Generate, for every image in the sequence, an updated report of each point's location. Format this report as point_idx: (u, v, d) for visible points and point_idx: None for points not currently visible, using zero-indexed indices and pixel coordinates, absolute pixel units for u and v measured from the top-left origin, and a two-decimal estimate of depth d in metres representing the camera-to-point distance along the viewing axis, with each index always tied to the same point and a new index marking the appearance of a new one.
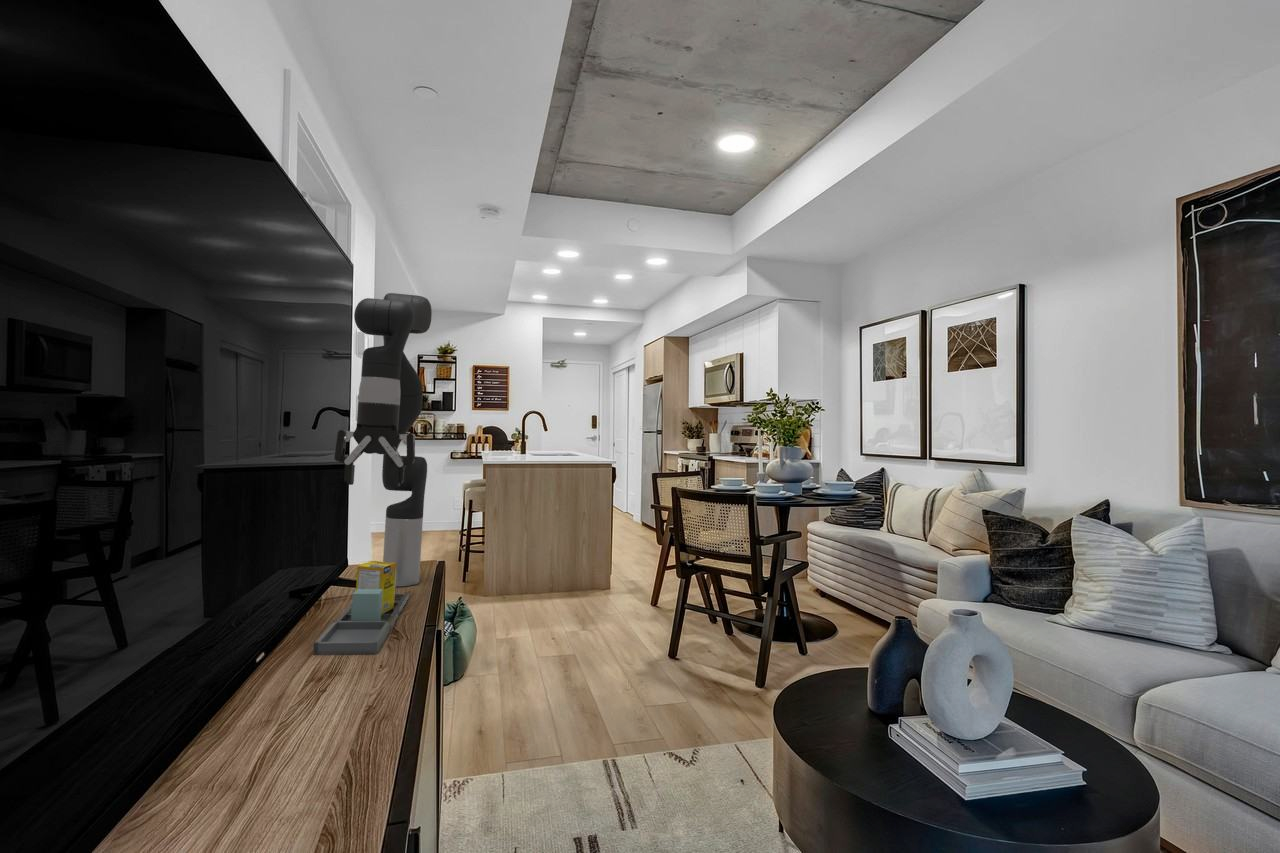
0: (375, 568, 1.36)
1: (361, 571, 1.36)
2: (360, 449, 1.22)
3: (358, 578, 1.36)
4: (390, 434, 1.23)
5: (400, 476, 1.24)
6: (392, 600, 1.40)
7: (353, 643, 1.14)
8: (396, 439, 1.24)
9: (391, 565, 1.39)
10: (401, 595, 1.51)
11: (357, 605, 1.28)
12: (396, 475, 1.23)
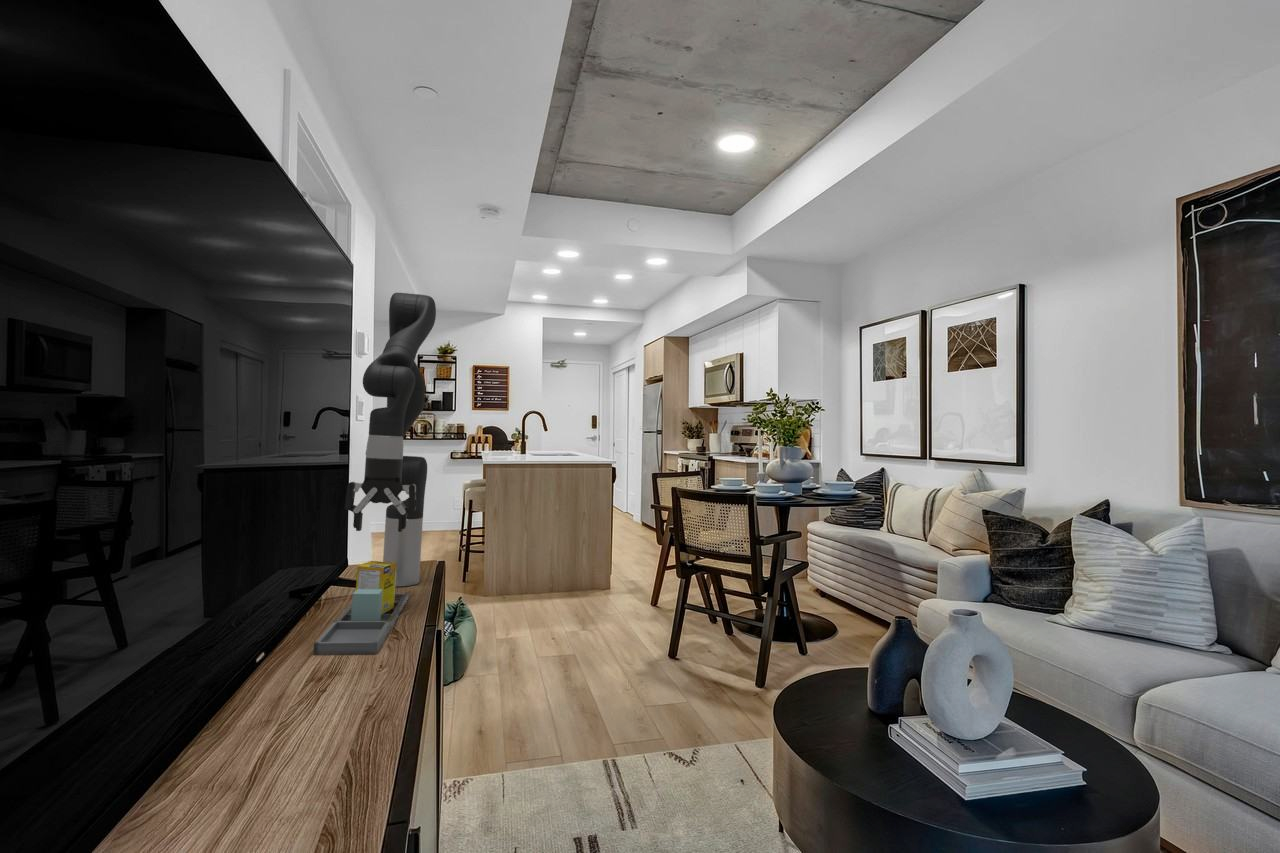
0: (375, 568, 1.36)
1: (361, 571, 1.36)
2: (367, 499, 1.37)
3: (358, 578, 1.36)
4: (394, 485, 1.38)
5: (403, 522, 1.39)
6: (392, 600, 1.40)
7: (353, 643, 1.14)
8: (399, 490, 1.39)
9: (391, 565, 1.39)
10: (401, 595, 1.51)
11: (357, 605, 1.28)
12: (399, 522, 1.39)
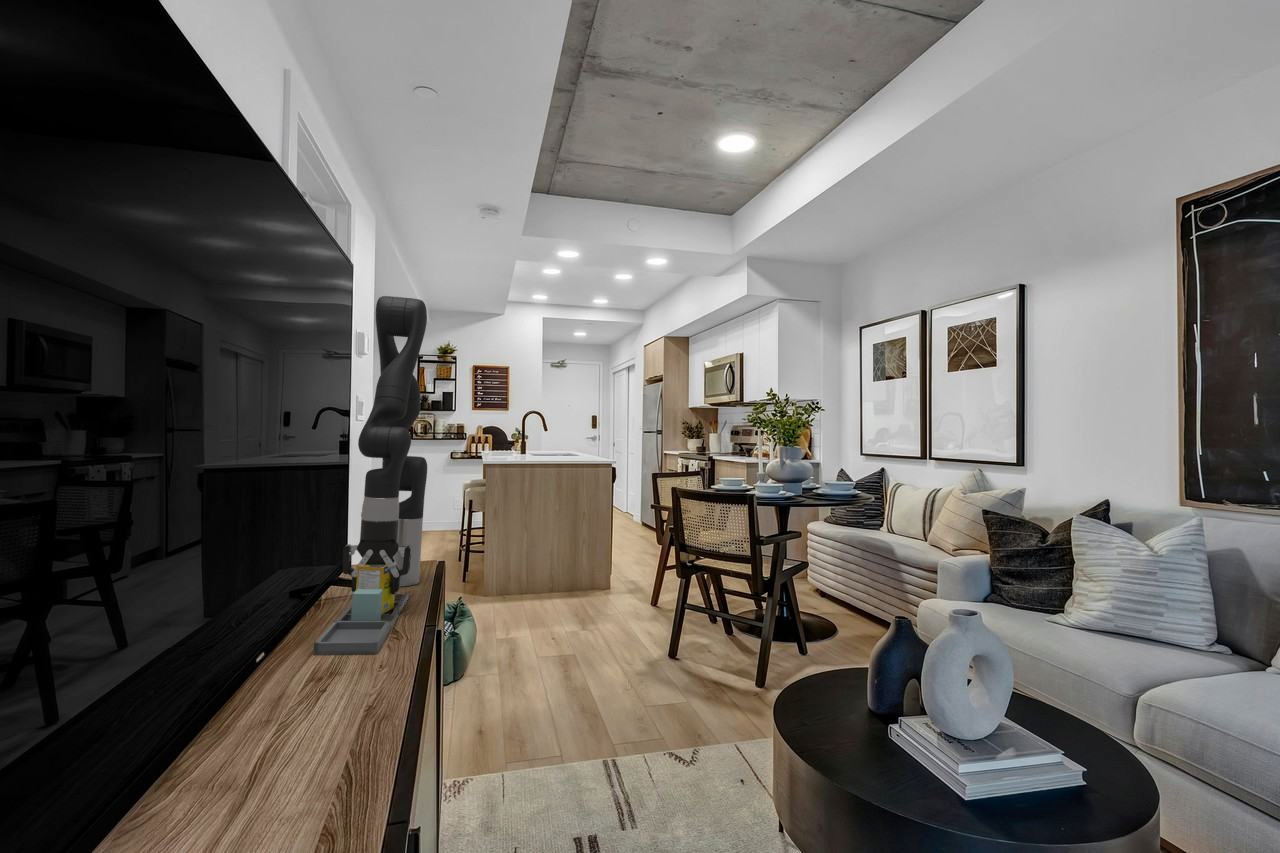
0: (375, 568, 1.36)
1: (361, 571, 1.36)
2: (364, 562, 1.36)
3: (358, 578, 1.36)
4: (390, 546, 1.38)
5: (396, 585, 1.39)
6: (392, 600, 1.40)
7: (353, 643, 1.14)
8: (395, 551, 1.38)
9: None
10: (401, 595, 1.51)
11: (357, 605, 1.28)
12: (393, 585, 1.38)
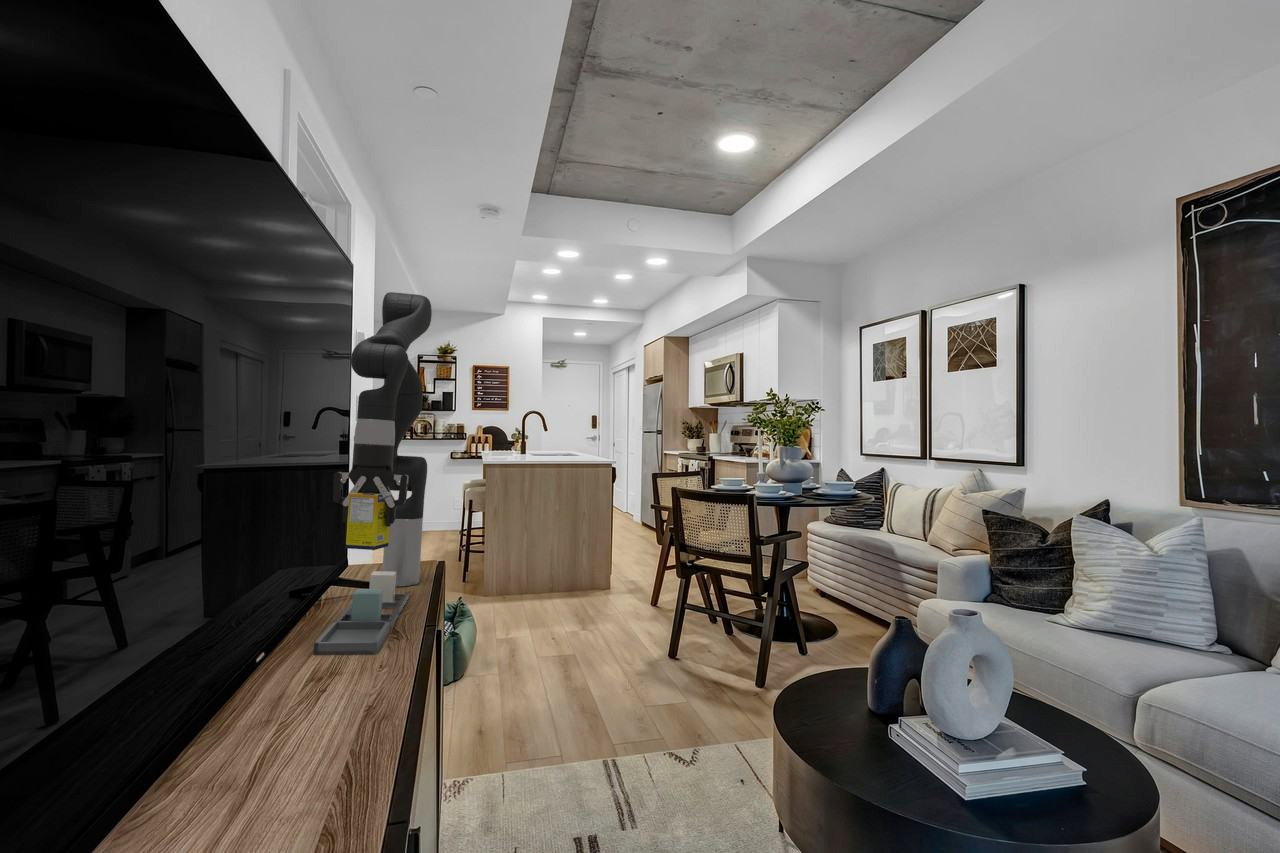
0: (368, 496, 1.24)
1: (353, 499, 1.25)
2: (357, 490, 1.25)
3: (350, 507, 1.24)
4: (385, 474, 1.27)
5: (391, 516, 1.27)
6: (387, 533, 1.29)
7: (353, 643, 1.14)
8: (390, 479, 1.27)
9: None
10: (401, 595, 1.51)
11: (357, 605, 1.28)
12: (387, 515, 1.27)
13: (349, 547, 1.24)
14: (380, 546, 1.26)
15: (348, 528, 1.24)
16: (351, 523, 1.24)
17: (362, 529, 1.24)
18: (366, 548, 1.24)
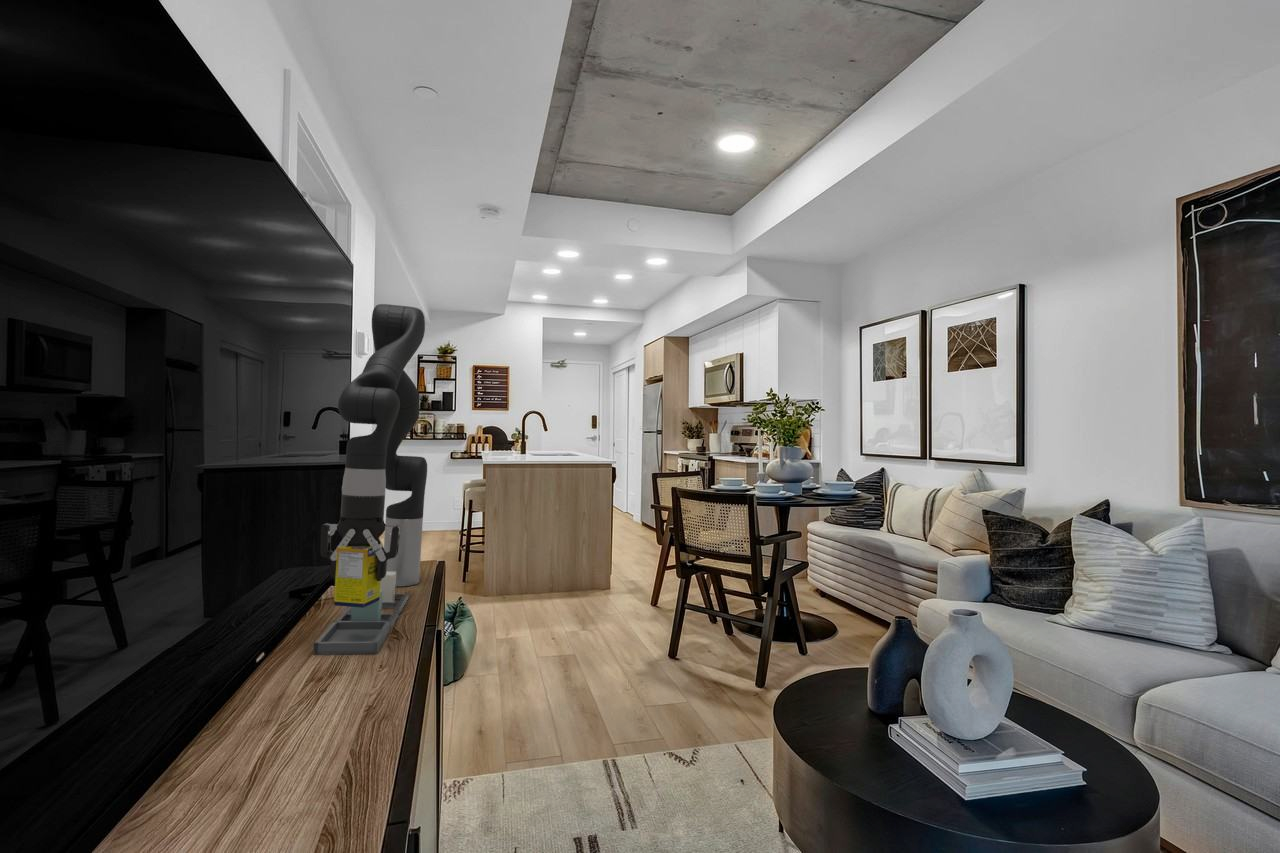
0: (358, 550, 1.17)
1: (341, 554, 1.18)
2: (345, 543, 1.18)
3: (338, 562, 1.18)
4: (375, 526, 1.20)
5: (382, 570, 1.20)
6: (378, 587, 1.22)
7: (353, 643, 1.14)
8: (381, 531, 1.20)
9: None
10: (401, 595, 1.51)
11: None
12: (378, 570, 1.20)
13: (337, 604, 1.17)
14: (370, 602, 1.19)
15: (336, 584, 1.17)
16: (339, 579, 1.17)
17: (351, 585, 1.17)
18: (355, 605, 1.17)
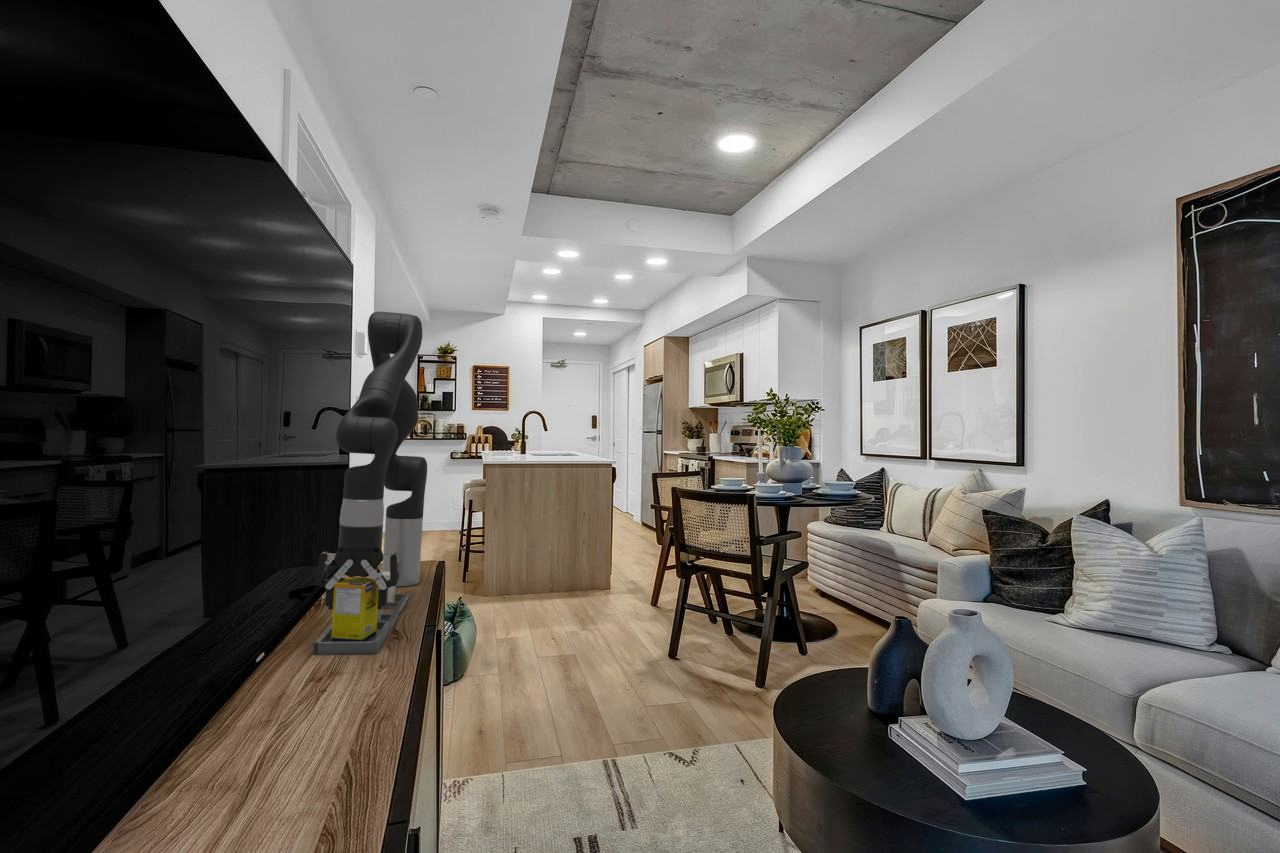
0: (355, 586, 1.17)
1: (339, 590, 1.17)
2: (342, 573, 1.18)
3: (335, 598, 1.17)
4: (373, 556, 1.20)
5: (383, 599, 1.20)
6: (375, 622, 1.22)
7: (353, 643, 1.14)
8: (379, 561, 1.20)
9: (374, 582, 1.21)
10: (401, 595, 1.51)
11: None
12: (379, 598, 1.20)
13: (335, 640, 1.17)
14: (368, 637, 1.19)
15: (333, 620, 1.17)
16: (337, 615, 1.17)
17: (349, 621, 1.17)
18: (353, 641, 1.17)
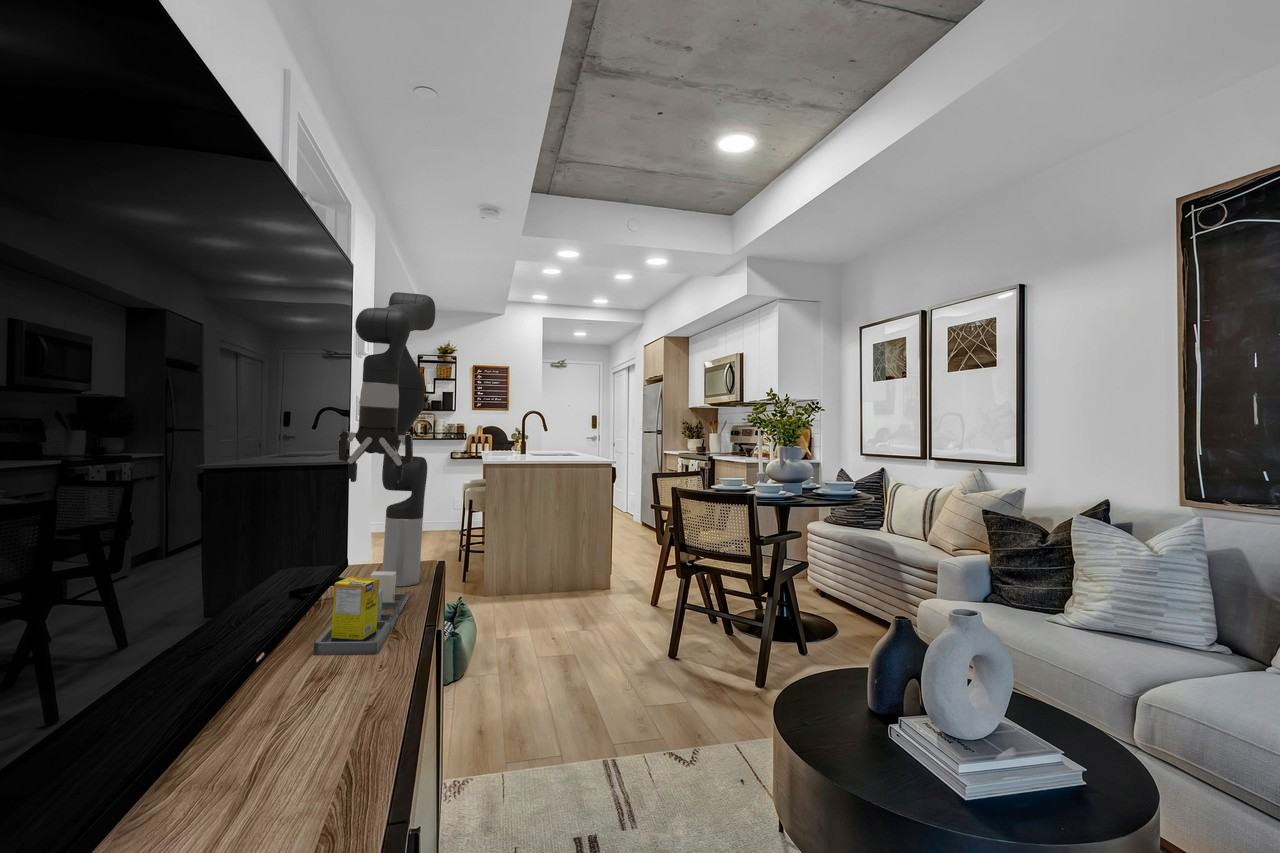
0: (355, 586, 1.17)
1: (339, 590, 1.17)
2: (362, 449, 1.32)
3: (335, 598, 1.17)
4: (390, 435, 1.33)
5: (399, 474, 1.34)
6: (375, 622, 1.22)
7: (353, 643, 1.14)
8: (395, 440, 1.34)
9: (374, 582, 1.21)
10: (401, 595, 1.51)
11: None
12: (395, 473, 1.34)
13: (335, 640, 1.17)
14: (368, 637, 1.19)
15: (333, 620, 1.17)
16: (337, 615, 1.17)
17: (349, 621, 1.17)
18: None
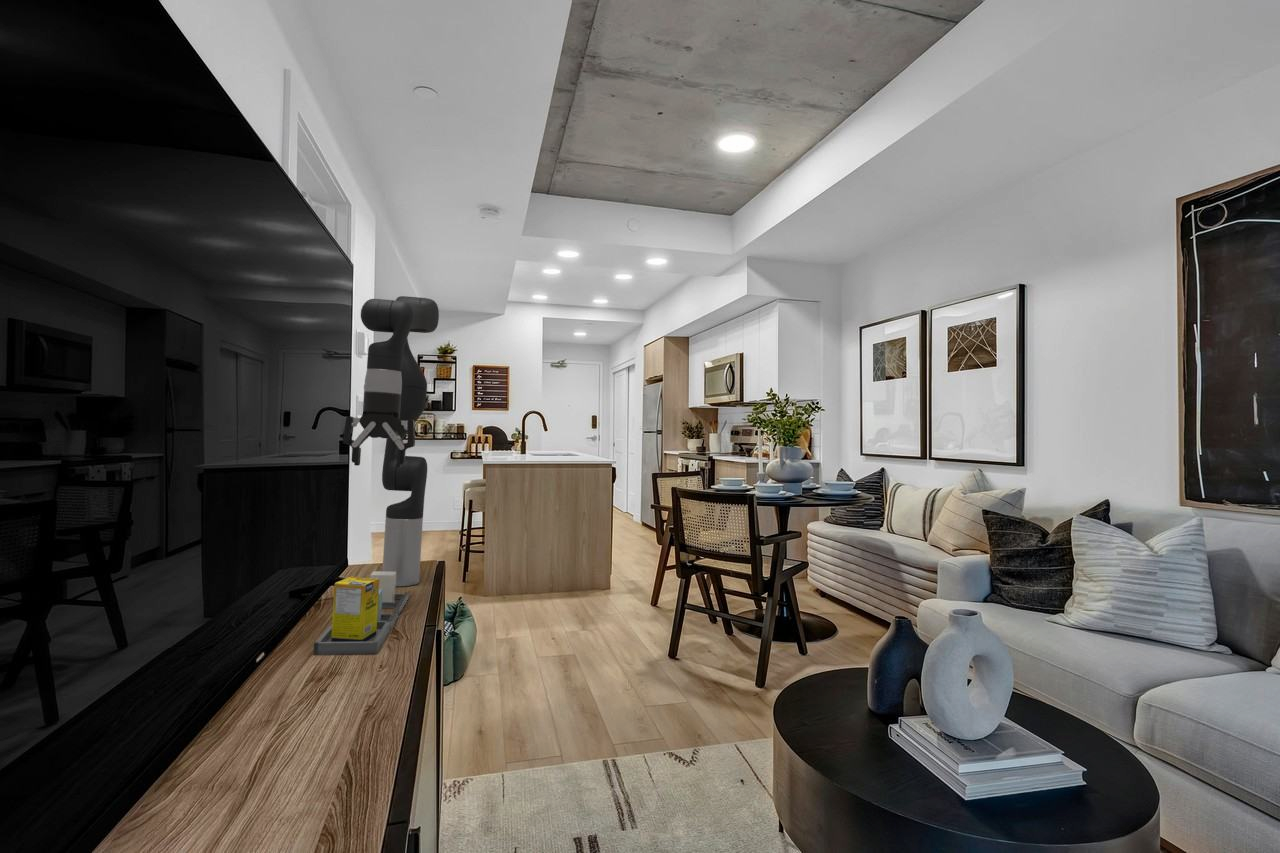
0: (355, 586, 1.17)
1: (339, 590, 1.17)
2: (366, 433, 1.36)
3: (335, 598, 1.17)
4: (393, 420, 1.37)
5: (401, 458, 1.38)
6: (375, 622, 1.22)
7: (353, 643, 1.14)
8: (398, 425, 1.38)
9: (374, 582, 1.21)
10: (401, 595, 1.51)
11: None
12: (398, 457, 1.38)
13: (335, 640, 1.17)
14: (368, 637, 1.19)
15: (333, 620, 1.17)
16: (337, 615, 1.17)
17: (349, 621, 1.17)
18: None
